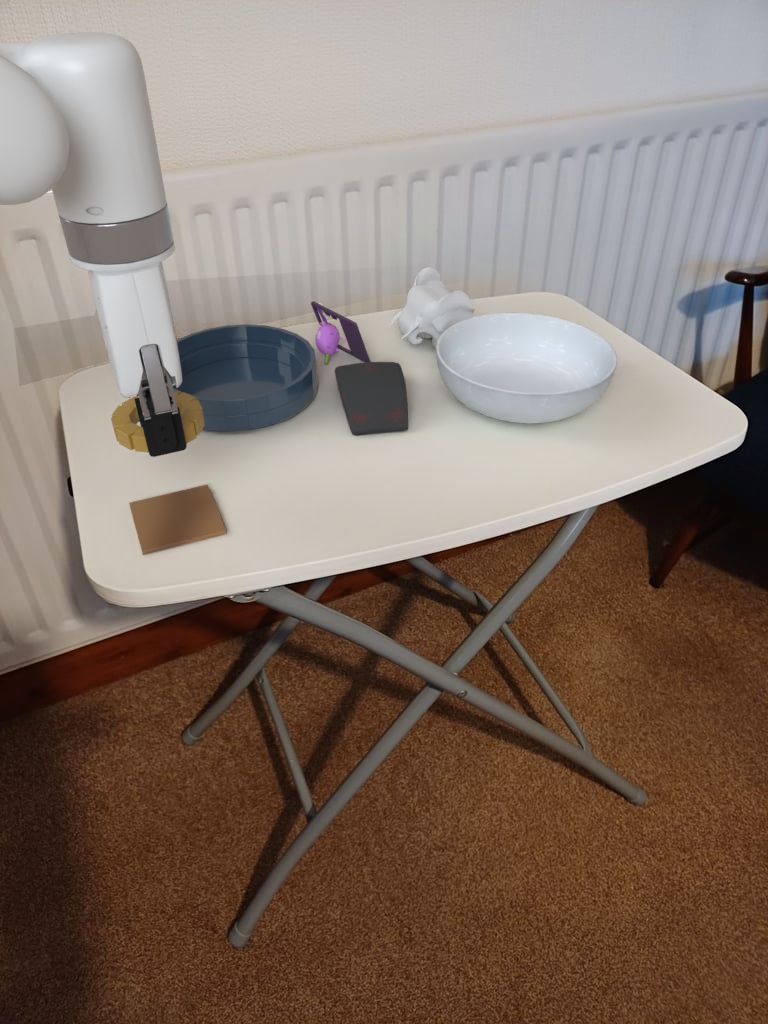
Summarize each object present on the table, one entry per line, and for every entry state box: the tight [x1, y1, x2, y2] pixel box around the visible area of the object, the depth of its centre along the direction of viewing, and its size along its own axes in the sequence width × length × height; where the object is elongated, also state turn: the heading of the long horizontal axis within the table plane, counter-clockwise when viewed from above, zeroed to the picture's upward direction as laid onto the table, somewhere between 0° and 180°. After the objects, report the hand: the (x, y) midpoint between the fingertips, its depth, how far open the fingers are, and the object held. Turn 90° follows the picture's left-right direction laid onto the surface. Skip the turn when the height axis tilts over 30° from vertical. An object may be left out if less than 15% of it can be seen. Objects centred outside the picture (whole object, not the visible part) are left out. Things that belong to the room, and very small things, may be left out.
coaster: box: [128, 484, 227, 556], centre depth 77 cm, size 8×8×1 cm
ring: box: [110, 391, 205, 453], centre depth 70 cm, size 8×8×2 cm
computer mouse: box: [334, 361, 409, 436], centre depth 93 cm, size 8×14×4 cm, turn 9°
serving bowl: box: [435, 311, 619, 424], centre depth 93 cm, size 21×21×7 cm
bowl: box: [173, 323, 319, 432], centre depth 96 cm, size 19×19×4 cm
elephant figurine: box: [387, 266, 476, 349], centre depth 105 cm, size 10×12×9 cm
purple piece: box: [310, 300, 371, 365], centre depth 102 cm, size 7×5×9 cm
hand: (164, 442), depth 69 cm, fingers closed on ring, 2 cm apart
